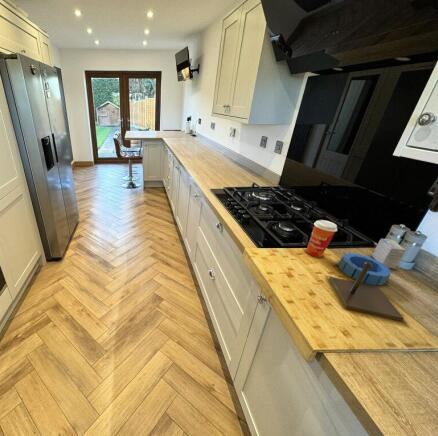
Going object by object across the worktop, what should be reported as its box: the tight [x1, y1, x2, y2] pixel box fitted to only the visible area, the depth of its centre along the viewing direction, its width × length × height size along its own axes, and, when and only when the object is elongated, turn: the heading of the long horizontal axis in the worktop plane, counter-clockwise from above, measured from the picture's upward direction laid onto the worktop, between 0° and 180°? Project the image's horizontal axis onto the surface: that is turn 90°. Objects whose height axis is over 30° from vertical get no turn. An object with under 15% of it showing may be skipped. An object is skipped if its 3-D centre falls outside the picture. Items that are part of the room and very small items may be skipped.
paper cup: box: [306, 219, 338, 258], centre depth 95 cm, size 8×8×14 cm
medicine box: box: [371, 238, 407, 270], centre depth 92 cm, size 8×4×9 cm, turn 161°
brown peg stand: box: [328, 262, 405, 322], centre depth 72 cm, size 14×14×13 cm
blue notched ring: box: [337, 252, 392, 286], centre depth 87 cm, size 14×14×4 cm
